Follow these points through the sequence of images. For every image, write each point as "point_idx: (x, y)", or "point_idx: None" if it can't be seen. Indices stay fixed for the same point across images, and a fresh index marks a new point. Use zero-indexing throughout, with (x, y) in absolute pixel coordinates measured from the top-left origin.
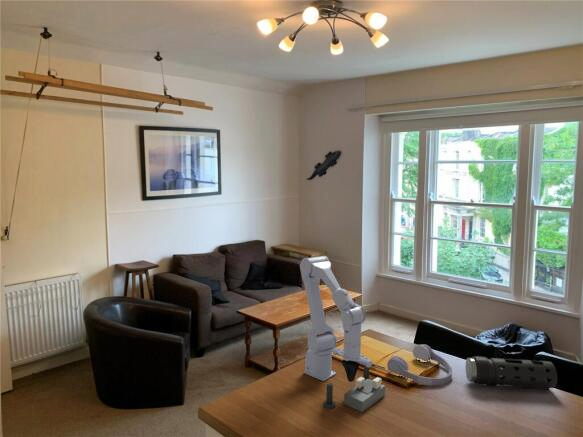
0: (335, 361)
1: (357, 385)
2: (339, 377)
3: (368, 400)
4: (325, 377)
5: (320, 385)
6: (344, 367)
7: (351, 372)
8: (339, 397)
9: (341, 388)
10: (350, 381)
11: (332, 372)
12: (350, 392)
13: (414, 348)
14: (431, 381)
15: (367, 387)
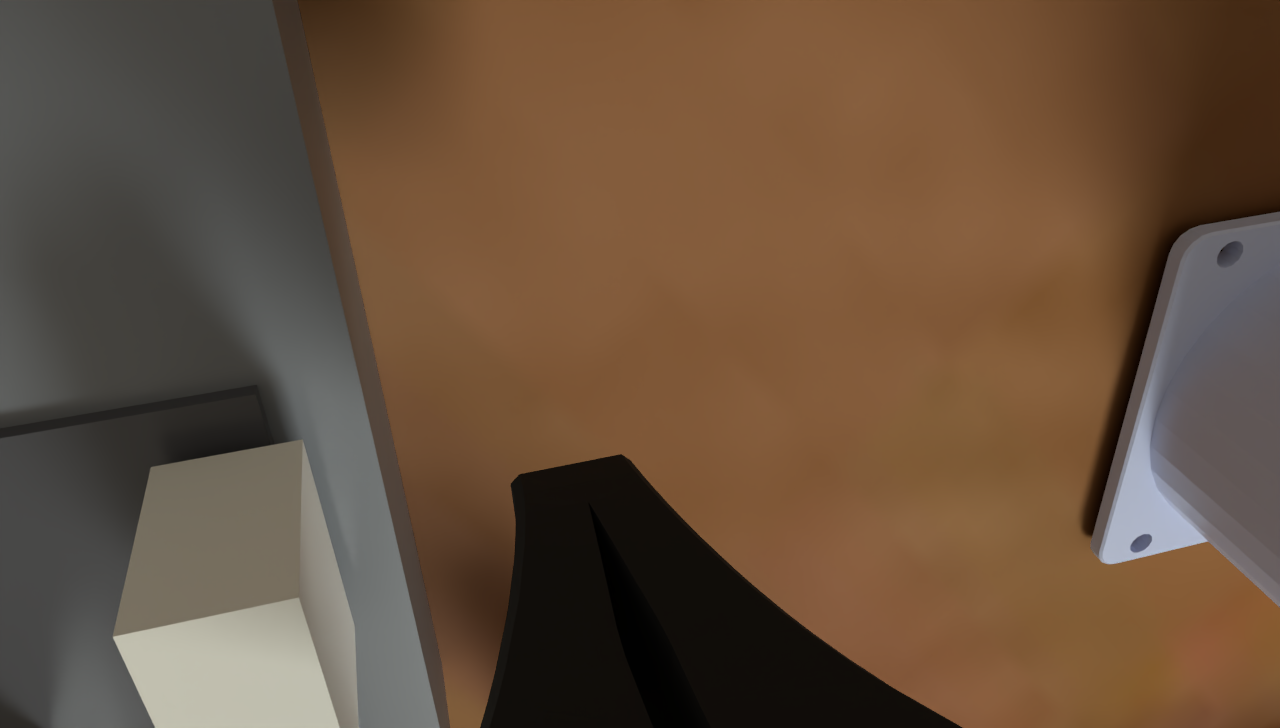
0: (1231, 723)
1: (231, 495)
2: (996, 529)
3: None
4: (1193, 336)
5: (1160, 78)
6: (896, 714)
7: (507, 721)
8: (573, 19)
9: (772, 325)
10: (533, 478)
11: (1154, 527)
12: (193, 134)
13: None
14: None
15: None
